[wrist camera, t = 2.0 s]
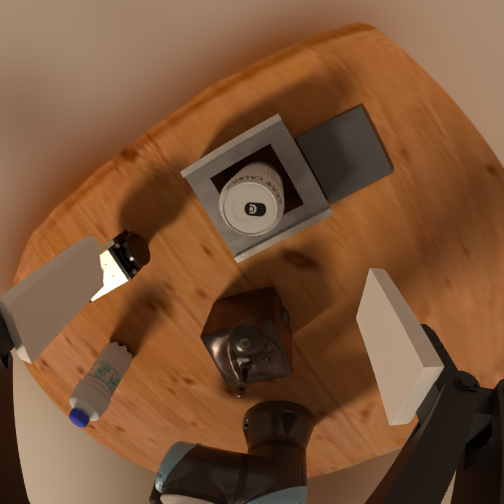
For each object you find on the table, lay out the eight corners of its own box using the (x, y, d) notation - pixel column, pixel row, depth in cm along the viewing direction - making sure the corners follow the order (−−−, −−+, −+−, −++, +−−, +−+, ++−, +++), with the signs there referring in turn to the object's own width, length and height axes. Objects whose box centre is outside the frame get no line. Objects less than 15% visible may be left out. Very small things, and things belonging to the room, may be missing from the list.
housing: (243, 244, 43) (237, 263, 37) (194, 166, 40) (179, 172, 34) (325, 201, 40) (333, 214, 34) (278, 117, 36) (278, 113, 30)
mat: (330, 203, 40) (330, 204, 40) (295, 138, 37) (295, 138, 37) (391, 171, 37) (393, 172, 37) (359, 106, 35) (360, 105, 34)
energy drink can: (239, 159, 39) (216, 172, 25) (284, 162, 39) (287, 177, 25) (236, 202, 41) (214, 239, 27) (280, 206, 41) (281, 244, 27)
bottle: (114, 332, 52) (64, 405, 34) (141, 354, 54) (99, 431, 35) (101, 347, 55) (54, 415, 36) (126, 368, 56) (86, 439, 37)
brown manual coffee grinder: (297, 336, 49) (301, 422, 32) (235, 350, 51) (218, 433, 34) (267, 253, 44) (259, 328, 27) (198, 273, 46) (158, 348, 29)
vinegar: (186, 470, 72) (173, 522, 54) (169, 470, 74) (154, 520, 55) (174, 460, 70) (158, 514, 52) (157, 460, 72) (139, 511, 53)
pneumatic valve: (169, 242, 44) (135, 278, 33) (117, 273, 47) (80, 310, 36) (149, 211, 43) (109, 238, 32) (99, 245, 46) (57, 277, 35)
